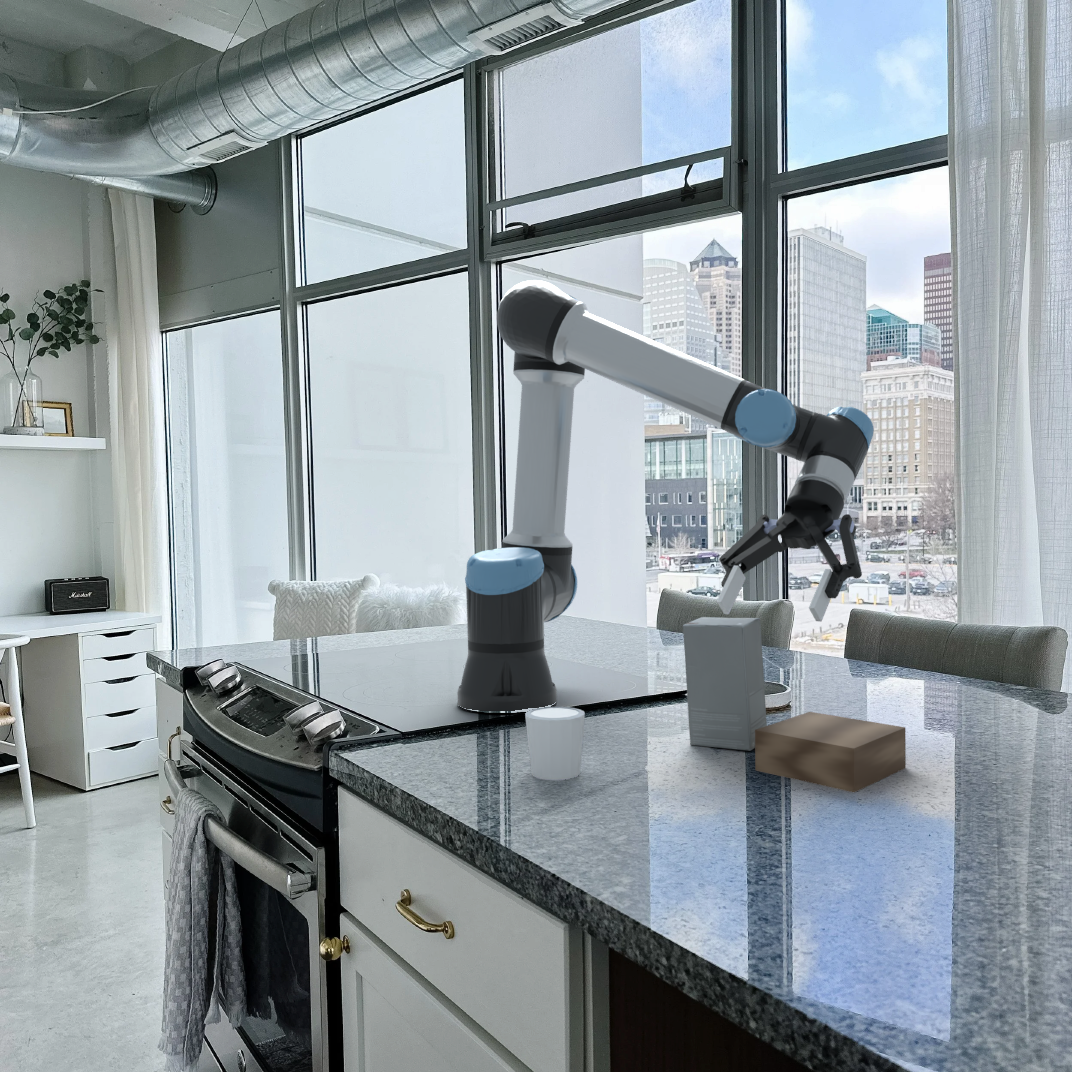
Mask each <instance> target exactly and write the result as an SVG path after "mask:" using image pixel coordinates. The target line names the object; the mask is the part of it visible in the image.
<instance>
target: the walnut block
mask: <svg viewBox="0 0 1072 1072" xmlns="http://www.w3.org/2000/svg"><path fill="white" fill-rule="evenodd" d="M906 748H907V747H906V727H905V726H900V725H894V724H887V723H882V722H881V723H880V722H876V721H875V722H874V721H869V720H863V719H862V720H861V719H857V718H849V717H844V716H837V715H831V714H826V713H819V712H815V711H808V712H804V713H802V714H798V715H795V716H793V717H789V718H787V719H784V720H781V721H778V722H774V723H771V724H769V725H768V724H767V726H765V727H762V728H759V729H756V730H755V748H754V753H755V755H754V760H755V761H754V763H755V764H754V765H755V767H754V769H755V771H757V772H760V773H766V774H771V775H775V776H778V777H783V778H788V779H792V780H796V781H801V782H805V783H809V784H814V785H817V786H818V785H819V786H822V787H827V788H831V789H832V788H833V789H837V790H841V791H845V792H850V793H857V792H859V791H861V790H863V789H865V788H867V787H870V786H871V785H874V784H876V783H878V782H879V781H880V782H881V780H884V779H886V778H888V777H890V776H892V775H894V774H897V773H899V772H901V771H903V770H905V769H907V767H906V764H907V763H906V762H907V759H906Z"/></svg>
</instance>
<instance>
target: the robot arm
mask: <svg viewBox="0 0 1072 1072" xmlns="http://www.w3.org/2000/svg"><path fill="white" fill-rule="evenodd" d="M496 324H497V329H498V333H499V335H500V337H501V339H502V340H503V342H504V344H506V346H507V347H509V349H511V350H512V351H513V352H514V355H513V368H512V369H513V375H514V376H515V377H516V379H517V380H518V381H519V382H520V384H521V392H520V393H521V394H520V397H521V398H520V407H519V408H520V411H519V422H518V423H519V424H518V425H519V427H518V428H519V429H518V440H517V454H516V468H515V469H516V471H515V486H514V487H515V489H514V501H513V502H514V503H513V505H514V506H513V517H512V518H513V519H512V529H511V531H510V532H509V533H508V534H507V535H506V536H505V537H504V538H503V539H502V546H501V548H494V549H486V550H482V551H479V552H477V553H474V554H473V555H471V556H470V557H469V558H468V559H467V562H466V572H465V573H466V574H465V576H464V577H465V578H464V582H465V590H466V592H465V593H466V595H465V596H466V619H467V621H466V623H467V624H466V625H467V626H466V627H467V657H466V662H465V666H464V669H463V674H462V678H461V682H460V684H459V686H458V688H457V692H456V693H457V696H456V697H457V706H458V705H459V706H461V707H463V708H466V709H472V710H480V711H515V710H522V709H528V708H539V707H545V706H548V705H552V704H554V703H555V702H556V701H558V698H557V697H558V695H557V694H558V692H557V691H558V690H557V686H556V684H555V682H553V679H552V675H551V674H552V673H551V670H550V666H549V663H548V660H547V656H546V654H545V624H544V623H548V622H551V621H553V620H555V619H557V618H559V617H560V616H561V615H562V614H564V612H565V611H567V610H568V608H569V607H570V606H571V605H572V603H573V601H574V600H575V597H576V594H577V590H578V576H577V573H576V570H575V568H574V566H573V564H572V559H573V557H572V556H573V543H572V541H571V540H569V538H568V537H567V536H566V533H565V528H566V515H567V513H566V510H567V500H568V499H567V497H568V485H569V484H568V483H569V471H570V470H569V469H570V454H571V442H572V441H571V440H572V427H573V425H572V424H573V414H574V413H573V411H574V397H575V388H576V387H577V386H578V384H580V382H582V381H583V380H584V379H585V371H589V372H592V373H593V374H596V375H599V376H600V377H603V378H604V379H608V380H609V381H612V382H614V383H616V384H619V385H620V386H623V387H626V388H628V389H630V390H632V391H635V392H636V393H639V394H641V395H644V396H645V397H649V398H650V399H652V400H656V401H658V402H659V403H662V404H664V405H667V406H669V407H671V408H672V409H675V410H678V411H680V412H682V413H684V414H686V415H689V416H691V417H693V418H695V419H698V420H701V421H702V422H705V423H707V424H708V425H711V426H714V427H716V428H717V429H718V428H719V429H720V430H723V431H725V432H727V433H729V434H731V435H734V437H735V438H737V439H739V440H742V441H744V442H746V443H747V444H750V445H752V446H757V447H760V448H763V449H765V450H769V451H771V452H774V453H777V454H779V455H782V456H784V457H785V456H786V457H789V458H792V459H794V460H796V461H799V462H803V465H802V467H801V469H800V471H799V473H798V475H797V477H796V479H795V482H794V485H793V487H792V489H791V490H790V493H789V495H788V497H787V499H786V502H785V505H784V512H783V514H782V515H781V516H780V517H779V518H778V519H775V518H774V519H772V518H770V517H769V516H768V514H766V513H765V514H762V515H760V517H759V518H758V520H757V521H756V523H755V525H753V526H752V527H751V528H750V529H748V531H747V532H746V533H745V534H744V535H743V536H742V537H741V538H739V540H738V541H736V542H735V543H734V544H733V545H732V546H731V547H730V548H729V549H728V550H726V551H725V552H724V553H723V554H722V555H721V556H720V557H719V559H718V561H719V562H720V564H721V566H722V567H723V569H724V570H725V574H724V576H723V578H722V581H721V584H720V585H721V587H722V590H721V591H720V593H719V596H718V598H717V600H716V603H717V604H718V607H719V608H720V610H721V611H722V613H723V614H724V615H730V612H731V610H732V608H733V606H734V604H735V602H736V600H737V599H738V596H739V594H740V592H741V589H742V587H743V585H744V583H745V581H746V579H747V577H746V576H745V574H746V573H747V572H749V571H750V570H752V569H753V568H755V567H757V566H758V565H759V564H761V563H763V562H764V561H766V560H767V559H769V558H770V557H772V556H774V555H775V554H776V553H783V552H784V551H786V550H787V549H793V550H795V549H800V548H801V549H804V550H806V549H807V550H810V549H811V548H813V547H817V549H819V551H820V553H821V554H822V556H823V557H824V559H825V561H826V563H827V564H828V566H829V568H825V569H824V570H823V572H822V576H821V578H820V580H819V583H818V586H817V587H816V590H815V592H814V595H813V597H812V600H811V601H810V604H809V607H808V610H809V611H810V612H811V614H812V615H811V616H812V617H813V618H814V620H815V622H822V621H823V619H824V616H825V614H826V611H827V610H828V607H829V604H830V602H831V599H836V598H837V597H838V596H839V595H840V591H841V588H842V587H843V584H844V582H845V581H847V579H850V578H854V579H859V578H861V577H862V575H863V572H862V568H861V562H860V560H859V555H858V551H857V545H856V543H855V535H856V530H857V527H856V525H855V522H854V520H853V518H852V516H851V515H850V514H844V515H842V517H841V514H842V512H843V510H844V507H845V504H846V503H847V500H848V497H849V495H850V493H851V491H852V489H853V486H854V483H855V481H856V478H857V476H858V474H859V472H860V470H861V468H862V465H863V463H864V461H865V459H866V456H867V454H868V451H869V448H870V446H871V443H872V440H873V437H874V430H875V428H874V425H873V424H874V423H873V422H872V420H871V418H870V417H869V416H868V414H866V413H865V412H864V411H862V410H861V409H859V408H855V407H853V406H846V407H845V406H844V407H843V406H836V407H835V408H833V409H831V410H830V411H829V412H828V413H827V414H826V415H825V414H822V413H818V412H816V411H811V410H809V409H806V408H803V407H801V406H798V405H795V404H793V403H792V401H791V399H789V398H788V397H787V396H786V394H784V393H781V392H779V391H778V390H774V389H772V388H766V387H763V386H761V385H759V384H756V383H753V382H751V381H748V380H746V379H744V378H742V377H740V376H737V375H736V374H732V373H731V372H728V371H726V370H724V369H722V368H719V367H716V366H714V365H712V364H709V363H707V362H705V361H703V360H700V359H699V358H695V357H693V356H690V355H688V354H685V353H684V352H681V351H679V350H677V349H674V348H672V347H669V346H667V345H665V344H663V343H660V342H658V341H655V340H653V339H651V338H648V337H647V336H644V335H641V334H639V333H637V332H634V331H633V330H629V329H627V328H626V327H625V328H624V327H622V326H620V325H617V324H615V323H614V322H611V321H609V320H606V319H604V318H603V317H599V316H596V315H594V314H593V313H589V310H588V307H587V304H585V302H582V301H579V300H578V299H577V298H575V297H573V296H572V295H570V294H567V293H565V292H564V291H563V290H561V289H560V288H558V287H557V286H555V285H554V284H552V283H550V282H548V281H544V280H537V279H533V280H532V279H531V280H526V281H521V282H520V283H517V284H515V285H514V286H513V287H511V288H510V289H508V290H507V292H506V293H505V294H504V296H503V297H502V299H501V300H500V303H499V305H498V309H497V314H496ZM840 517H841V519H840ZM835 531H837V533H838V535H840V540H841V544H842V548H843V553H844V557H845V563H843V564H842V563H841V562H840V559H839V558H838V557H837V556H836V554H835V552H834V550H833V549H832V547H831V546H830V544H829V543H828V541H827V540H826V538H828V537H830V536H831V535H832V534H833V533H834V532H835ZM778 536H780V538H781V540H782V541H781V542H780V541H779V539H778ZM459 706H458V707H459Z"/></svg>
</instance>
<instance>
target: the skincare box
mask: <svg viewBox="0 0 1072 1072" xmlns="http://www.w3.org/2000/svg"><path fill="white" fill-rule="evenodd" d="M761 626H762V625H761V618H760V617H714V616H713V617H709V616H701V617H699V618H696V619H693V620H691V621H689V622H687V623H684V624H683V625H682V633H683V647H684V649H683V651H684V663H685V678H686V679H685V681H686V682H685V683H686V695H687V696H686V697H687V698H686V699H687V711H688V712H687V713H688V731H689V744H690V746H696V747H697V746H699V747H709V748H719V749H727V750H728V749H729V750H739V751H747V752H748V751H750V752H751V751H752V750H755V730H756V729H759V728H762V727H765V726H768V723H767V707H766V693H765V692H766V691H765V690H766V689H765V675H764V673H765V672H764V658H763V646H762V630H761V629H762V627H761Z"/></svg>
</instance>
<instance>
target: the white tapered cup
mask: <svg viewBox="0 0 1072 1072" xmlns="http://www.w3.org/2000/svg"><path fill="white" fill-rule="evenodd" d="M524 714H525V715H524V716H525V726H526V734H527V744H528V752H529V761H530V768H531V769H530V771H531V776H533V777H534V778H536V779H539V780H544V781H545V780H546V781H565V779H566V780H571V779H570V778H572V779H574V778H573V777H575V778H577V777H579V776H580V775H581V770H582V759H583V757H582V756H583V742H584V730H585V729H584V728H585V718H586V717H585V715H586V714H585V711H584V710H582V709H579V708H575V707H569V706H552V707H544V708H537V709H532V710H529V711H527V712H526V713H524ZM579 774H580V775H579ZM578 775H579V776H578Z"/></svg>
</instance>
